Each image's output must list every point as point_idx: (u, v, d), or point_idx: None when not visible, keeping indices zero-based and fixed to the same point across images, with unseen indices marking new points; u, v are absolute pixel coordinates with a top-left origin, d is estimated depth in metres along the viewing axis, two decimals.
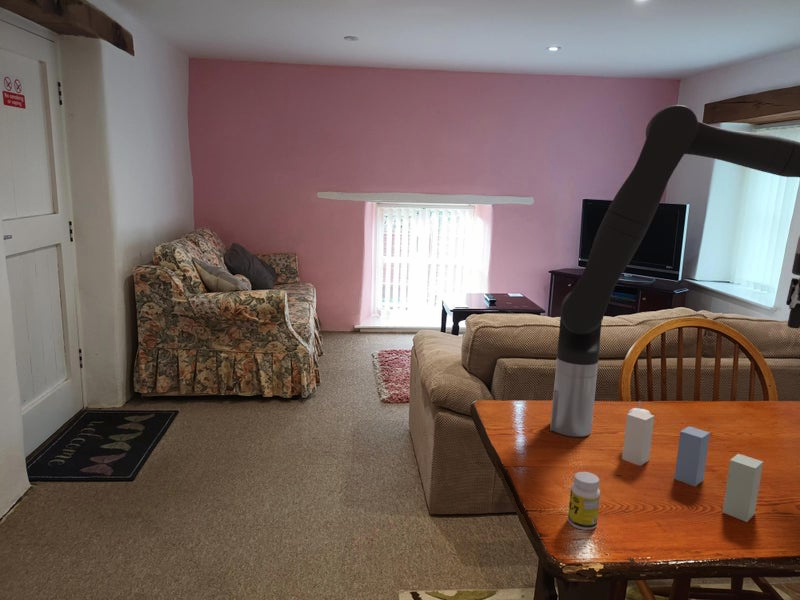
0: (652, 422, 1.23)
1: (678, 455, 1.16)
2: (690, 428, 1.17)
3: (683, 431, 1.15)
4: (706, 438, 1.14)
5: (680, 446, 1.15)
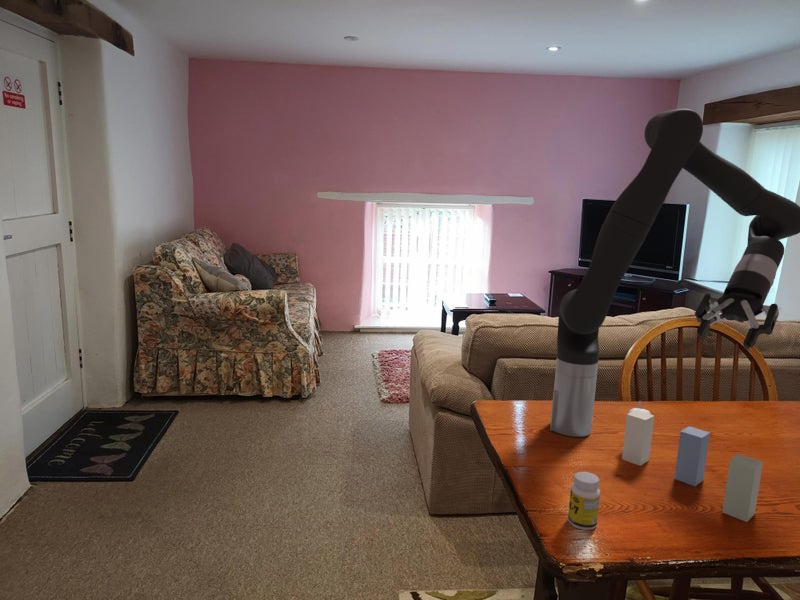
0: (652, 422, 1.23)
1: (678, 455, 1.16)
2: (690, 428, 1.16)
3: (683, 431, 1.15)
4: (706, 438, 1.14)
5: (680, 446, 1.15)
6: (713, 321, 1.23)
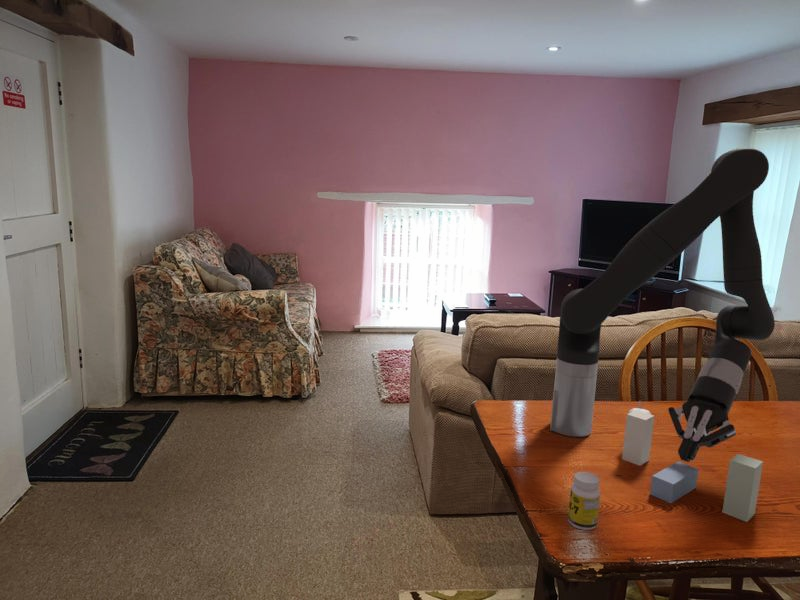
0: (652, 422, 1.23)
1: None
2: (655, 481, 1.09)
3: (652, 494, 1.10)
4: (674, 492, 1.07)
5: None
6: (693, 436, 1.16)
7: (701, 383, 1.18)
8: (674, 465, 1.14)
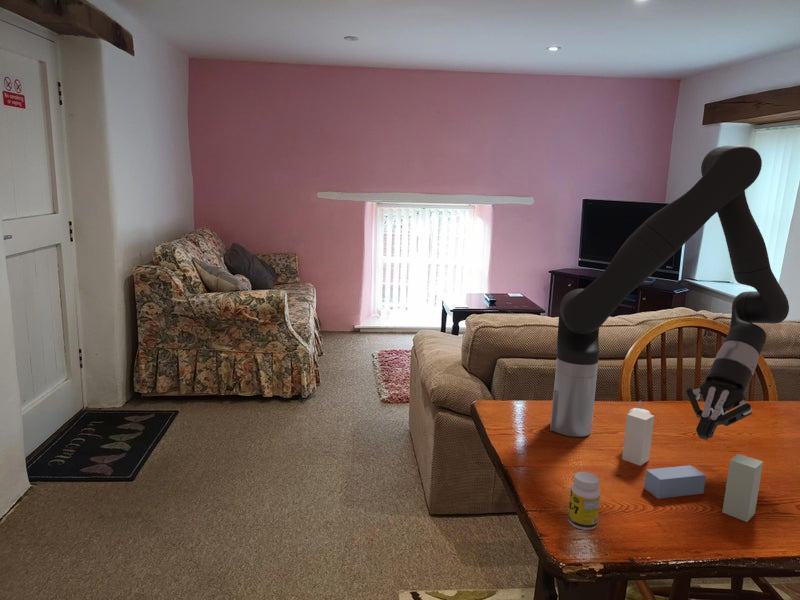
0: (652, 422, 1.23)
1: None
2: (648, 476, 1.12)
3: (645, 488, 1.12)
4: (662, 488, 1.09)
5: None
6: (710, 415, 1.21)
7: (718, 365, 1.22)
8: (682, 467, 1.14)
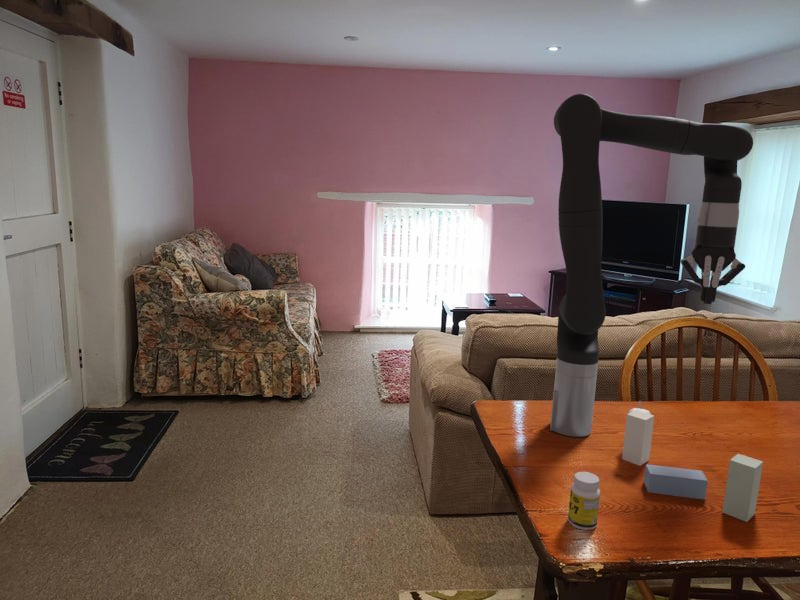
0: (652, 422, 1.23)
1: None
2: (646, 470, 1.14)
3: (644, 482, 1.15)
4: (653, 482, 1.11)
5: None
6: None
7: (710, 235, 1.24)
8: (688, 470, 1.12)
